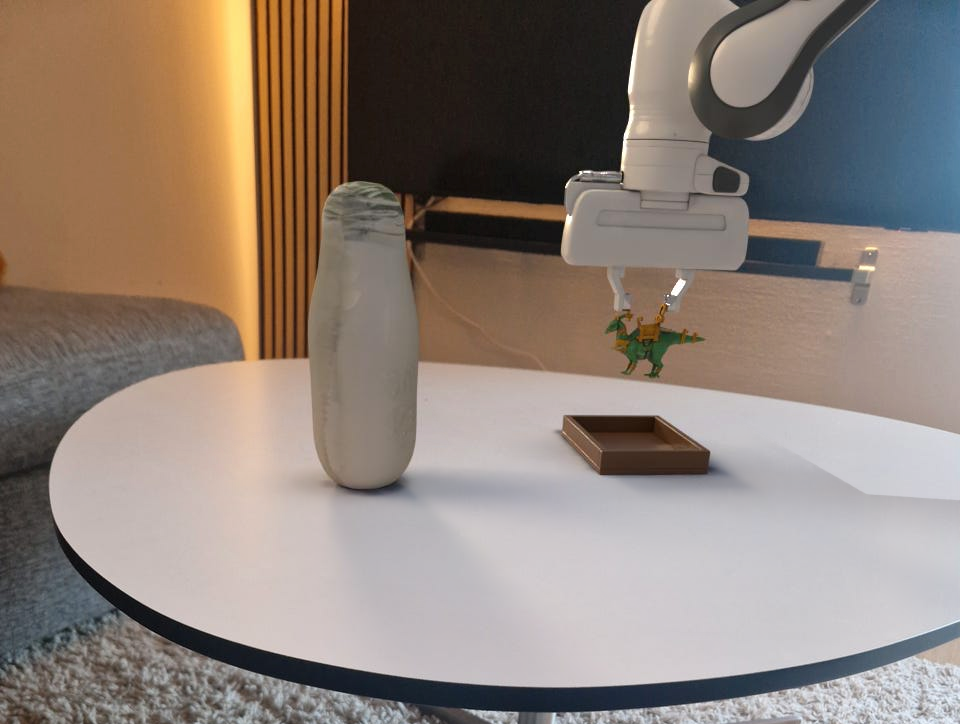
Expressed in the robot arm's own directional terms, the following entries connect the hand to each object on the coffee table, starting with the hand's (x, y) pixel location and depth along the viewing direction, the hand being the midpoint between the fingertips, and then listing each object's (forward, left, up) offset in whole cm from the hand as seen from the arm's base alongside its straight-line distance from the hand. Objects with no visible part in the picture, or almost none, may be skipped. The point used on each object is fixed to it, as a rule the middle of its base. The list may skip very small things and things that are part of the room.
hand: (646, 311), depth 104 cm
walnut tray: (0, 0, -16) cm, 16 cm away
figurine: (-1, 0, -7) cm, 7 cm away
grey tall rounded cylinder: (+28, +20, -16) cm, 38 cm away
